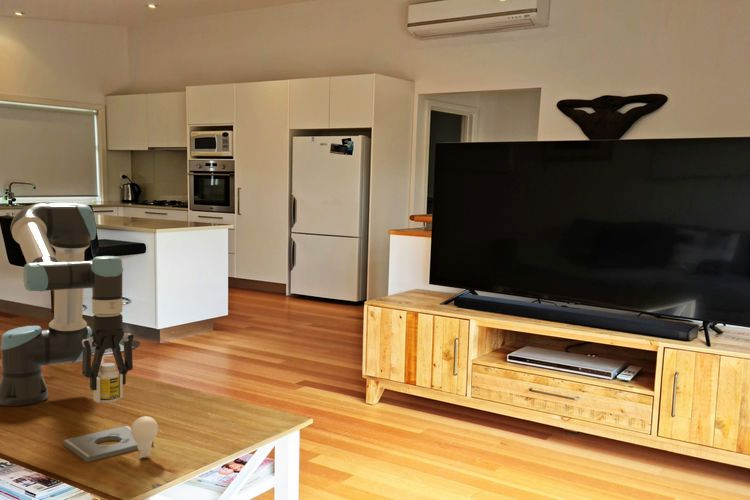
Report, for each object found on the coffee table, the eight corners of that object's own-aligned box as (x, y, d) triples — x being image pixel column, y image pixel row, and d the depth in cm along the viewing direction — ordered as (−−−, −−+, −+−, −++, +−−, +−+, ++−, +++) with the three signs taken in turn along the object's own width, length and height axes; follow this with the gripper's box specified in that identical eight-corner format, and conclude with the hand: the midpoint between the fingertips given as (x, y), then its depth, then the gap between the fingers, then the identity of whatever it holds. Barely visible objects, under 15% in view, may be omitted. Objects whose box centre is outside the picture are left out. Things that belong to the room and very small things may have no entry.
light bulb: (134, 453, 180) (134, 412, 179) (160, 453, 180) (160, 412, 179) (127, 463, 173) (127, 421, 172) (154, 463, 174) (154, 421, 173)
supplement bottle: (111, 403, 181) (111, 367, 180) (93, 402, 182) (92, 366, 181) (123, 398, 186) (122, 362, 185) (105, 396, 187) (104, 361, 186)
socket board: (63, 444, 185) (62, 439, 184) (127, 429, 197) (127, 425, 197) (87, 462, 173) (87, 457, 173) (153, 445, 186) (153, 440, 186)
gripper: (78, 320, 173) (79, 409, 175) (146, 312, 186) (146, 395, 188) (66, 315, 178) (67, 402, 180) (134, 308, 191) (134, 389, 193)
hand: (108, 398), depth 184 cm, fingers closed on supplement bottle, 5 cm apart
